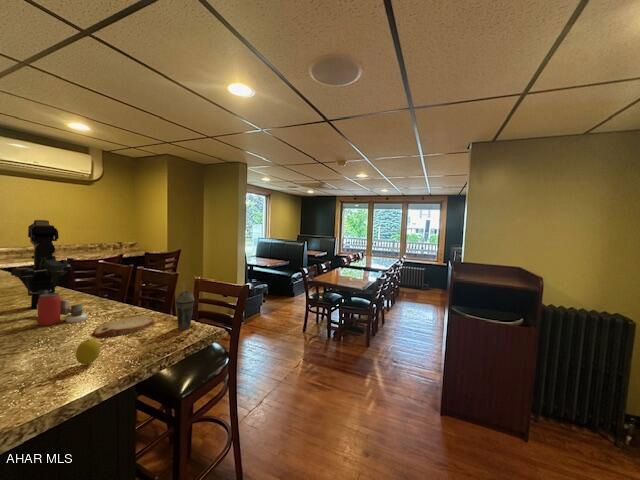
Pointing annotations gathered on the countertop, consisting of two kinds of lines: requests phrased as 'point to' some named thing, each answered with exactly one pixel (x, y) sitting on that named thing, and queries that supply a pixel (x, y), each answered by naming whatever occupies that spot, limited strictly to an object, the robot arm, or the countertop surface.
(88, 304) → the countertop surface
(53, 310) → the beer can
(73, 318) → the lever base
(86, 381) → the countertop surface
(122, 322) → the slice of bread
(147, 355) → the countertop surface
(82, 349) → the lemon
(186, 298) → the beverage cup
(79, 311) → the lever
